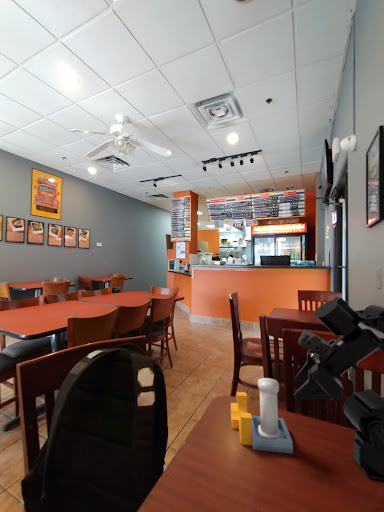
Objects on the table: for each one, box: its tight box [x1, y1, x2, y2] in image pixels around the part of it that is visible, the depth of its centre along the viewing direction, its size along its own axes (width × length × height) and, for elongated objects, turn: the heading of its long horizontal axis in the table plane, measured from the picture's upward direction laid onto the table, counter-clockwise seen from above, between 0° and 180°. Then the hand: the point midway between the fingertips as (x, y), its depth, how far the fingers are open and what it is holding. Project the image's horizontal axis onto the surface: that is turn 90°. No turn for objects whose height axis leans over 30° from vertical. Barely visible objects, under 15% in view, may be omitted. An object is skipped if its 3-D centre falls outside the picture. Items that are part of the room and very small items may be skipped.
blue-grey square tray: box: [251, 414, 294, 455], centre depth 60 cm, size 9×9×2 cm
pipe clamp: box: [230, 391, 252, 446], centre depth 64 cm, size 12×4×6 cm, turn 174°
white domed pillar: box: [257, 377, 280, 438], centre depth 60 cm, size 5×5×13 cm
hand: (295, 388), depth 57 cm, fingers open, 9 cm apart
